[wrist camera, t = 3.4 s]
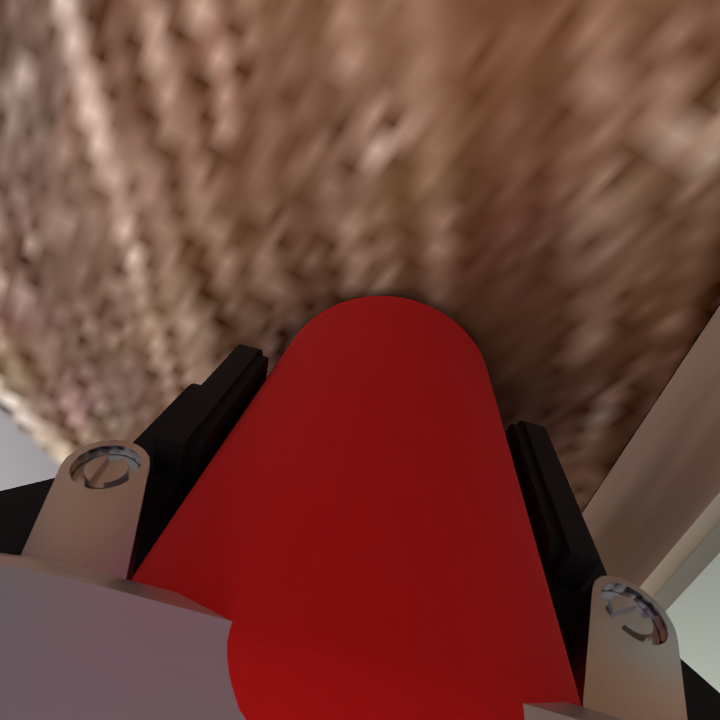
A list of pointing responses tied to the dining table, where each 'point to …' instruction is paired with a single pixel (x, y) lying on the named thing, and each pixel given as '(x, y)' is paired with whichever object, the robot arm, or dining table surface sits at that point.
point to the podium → (672, 506)
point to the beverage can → (371, 533)
